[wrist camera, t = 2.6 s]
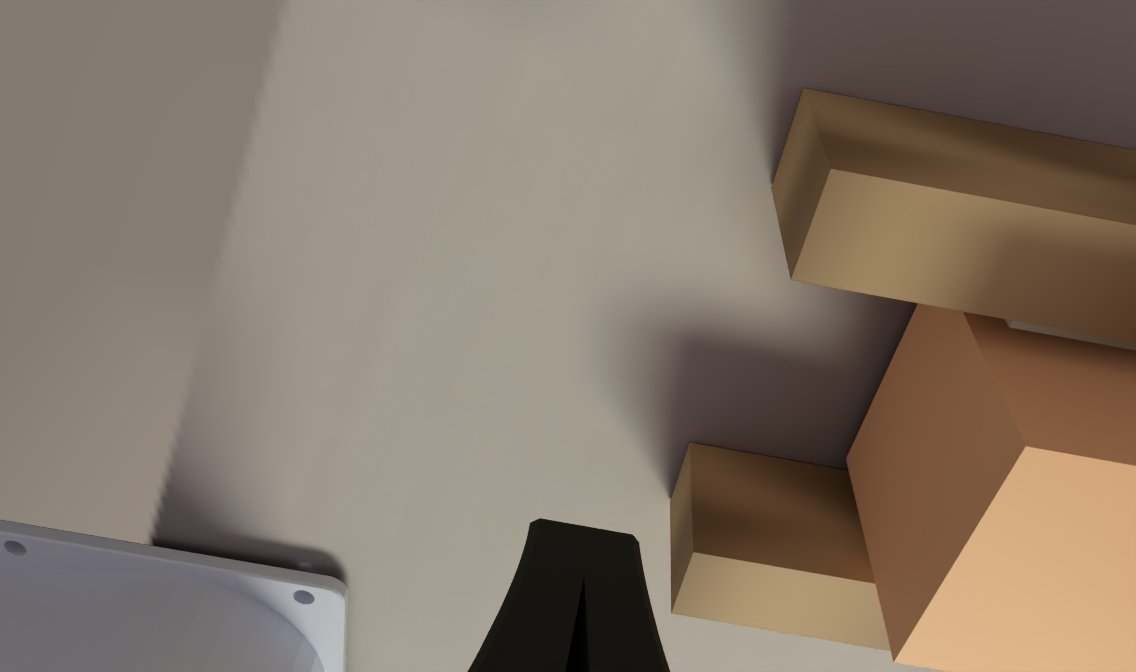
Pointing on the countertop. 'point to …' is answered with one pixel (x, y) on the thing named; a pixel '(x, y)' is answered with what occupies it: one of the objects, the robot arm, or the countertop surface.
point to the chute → (910, 273)
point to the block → (1001, 498)
